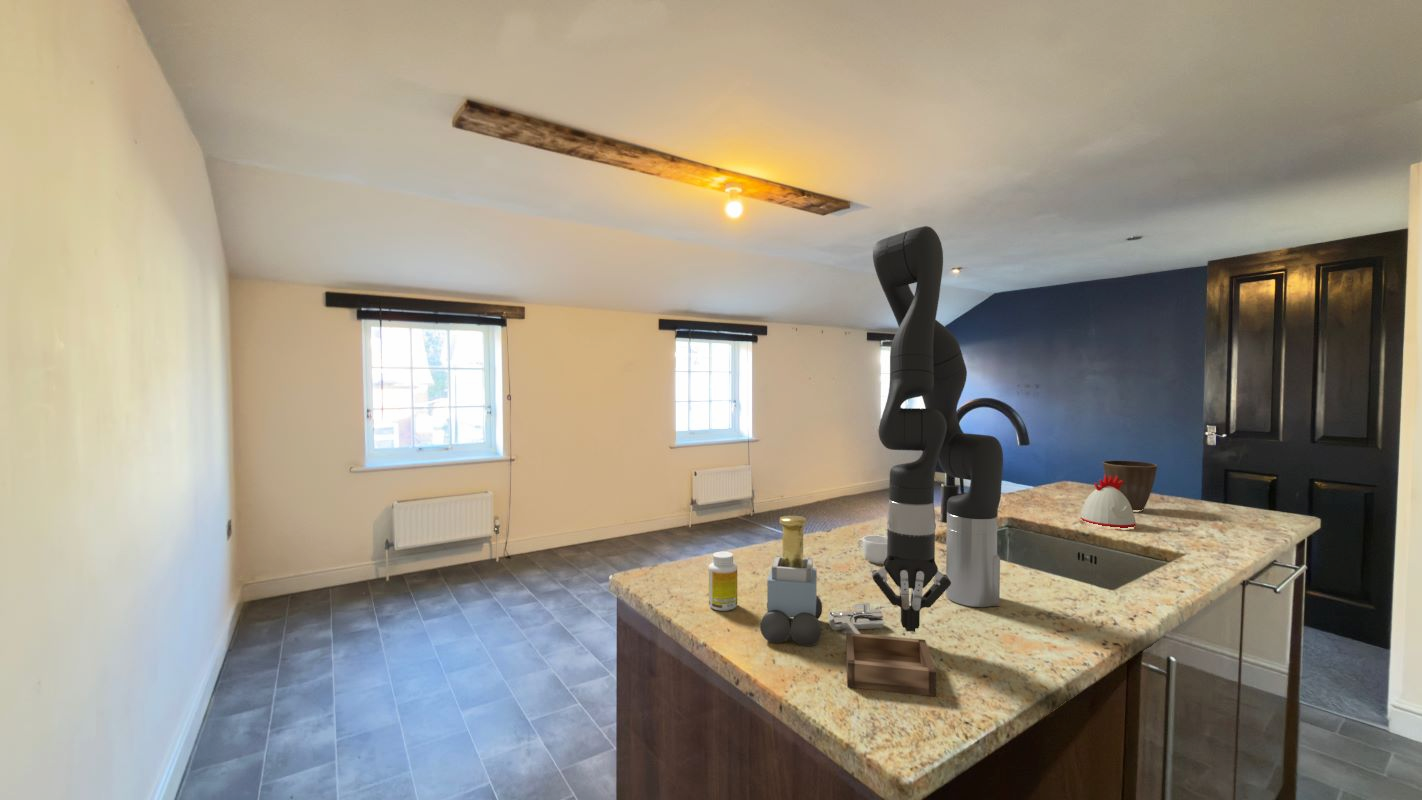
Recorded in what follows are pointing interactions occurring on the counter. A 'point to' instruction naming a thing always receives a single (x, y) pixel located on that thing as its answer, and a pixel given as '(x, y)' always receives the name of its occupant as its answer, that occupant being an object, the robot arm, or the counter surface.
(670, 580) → the counter surface
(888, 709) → the counter surface
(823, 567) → the counter surface
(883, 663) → the tray
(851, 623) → the grey metal piece
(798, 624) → the trolley
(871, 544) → the teacup
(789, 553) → the stop pin
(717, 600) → the supplement bottle
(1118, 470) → the plant pot
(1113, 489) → the kitchen timer
